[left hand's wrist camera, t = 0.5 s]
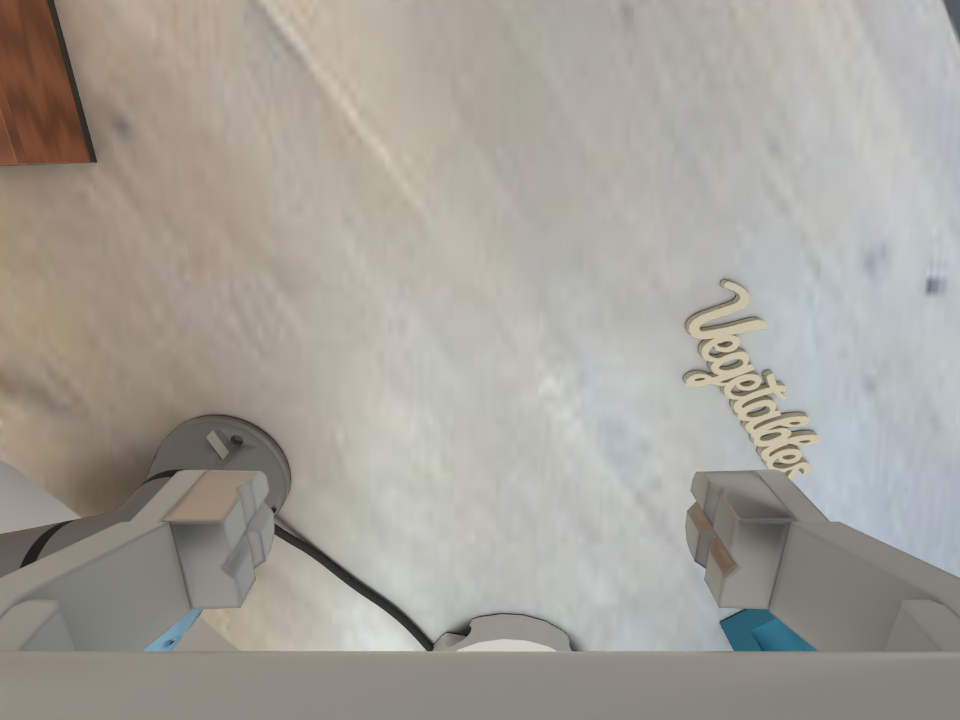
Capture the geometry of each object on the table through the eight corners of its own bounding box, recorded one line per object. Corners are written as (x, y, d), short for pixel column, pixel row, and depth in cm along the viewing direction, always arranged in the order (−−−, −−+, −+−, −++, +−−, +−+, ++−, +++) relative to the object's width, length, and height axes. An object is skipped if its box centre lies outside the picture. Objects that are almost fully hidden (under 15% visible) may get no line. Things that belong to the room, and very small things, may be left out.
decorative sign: (652, 327, 57) (739, 274, 55) (649, 325, 58) (735, 272, 56) (757, 500, 65) (836, 459, 63) (753, 495, 66) (831, 454, 64)
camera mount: (719, 622, 73) (756, 695, 63) (792, 586, 71) (842, 656, 61) (777, 699, 78) (820, 778, 68) (846, 668, 76) (900, 744, 66)
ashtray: (438, 601, 72) (436, 626, 68) (607, 629, 73) (613, 654, 70) (409, 721, 80) (406, 749, 76) (562, 743, 81) (566, 772, 78)
